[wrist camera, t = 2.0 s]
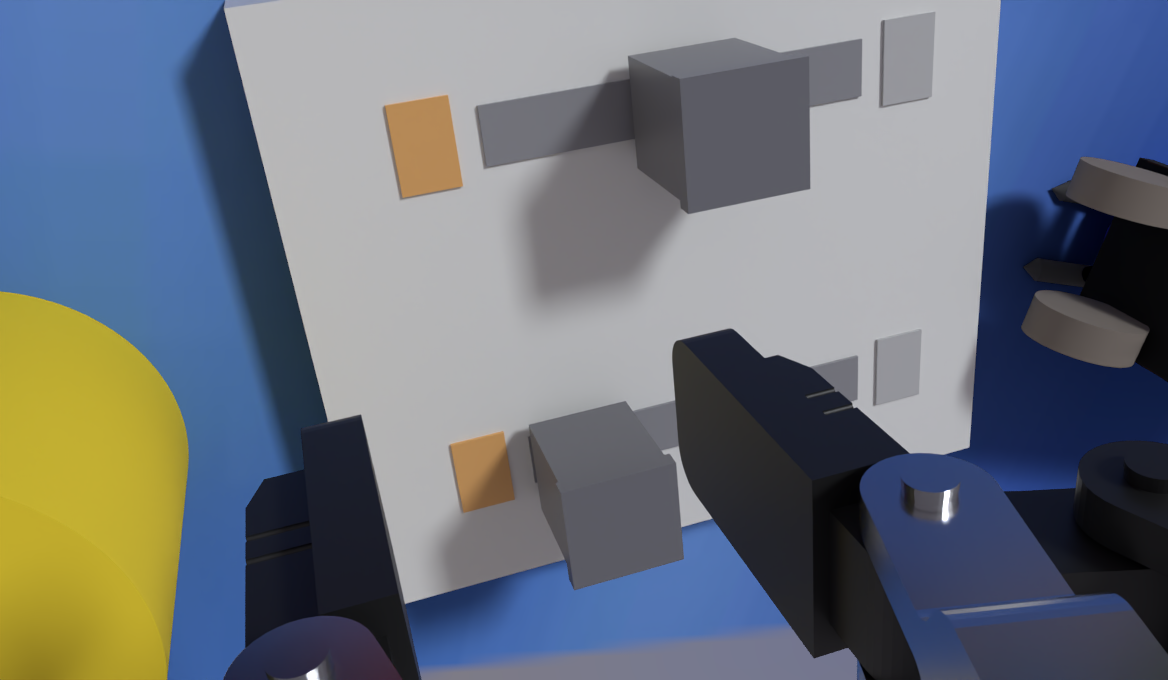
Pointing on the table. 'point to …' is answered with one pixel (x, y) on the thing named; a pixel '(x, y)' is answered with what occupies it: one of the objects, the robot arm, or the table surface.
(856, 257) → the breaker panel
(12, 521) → the tape roll
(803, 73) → the handle
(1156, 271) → the black toy car
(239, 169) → the table surface
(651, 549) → the on handle
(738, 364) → the robot arm
